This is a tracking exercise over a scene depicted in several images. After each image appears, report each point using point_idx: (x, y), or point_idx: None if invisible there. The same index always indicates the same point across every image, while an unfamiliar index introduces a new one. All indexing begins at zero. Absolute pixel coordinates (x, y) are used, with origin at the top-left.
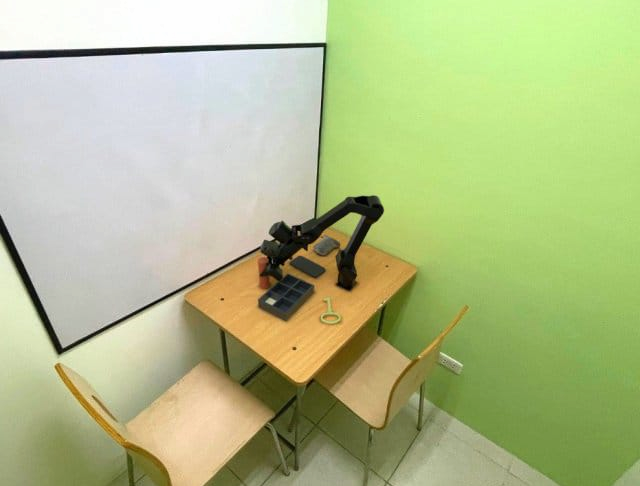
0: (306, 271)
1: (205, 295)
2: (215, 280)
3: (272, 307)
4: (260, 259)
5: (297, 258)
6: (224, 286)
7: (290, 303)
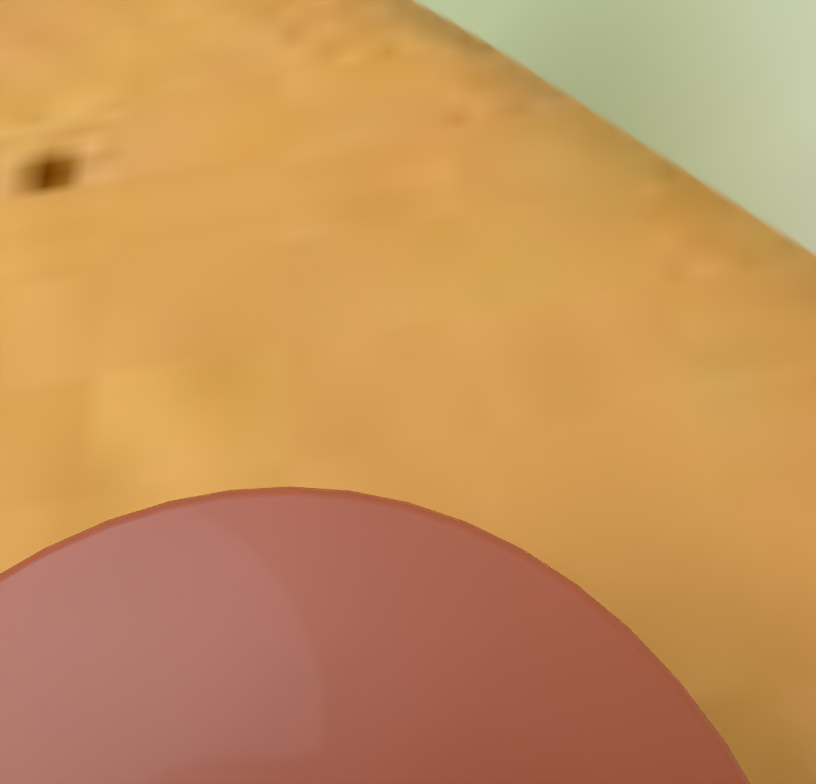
0: None
1: (143, 5)
2: (426, 45)
3: None
4: (368, 702)
5: None
6: (313, 151)
7: None
